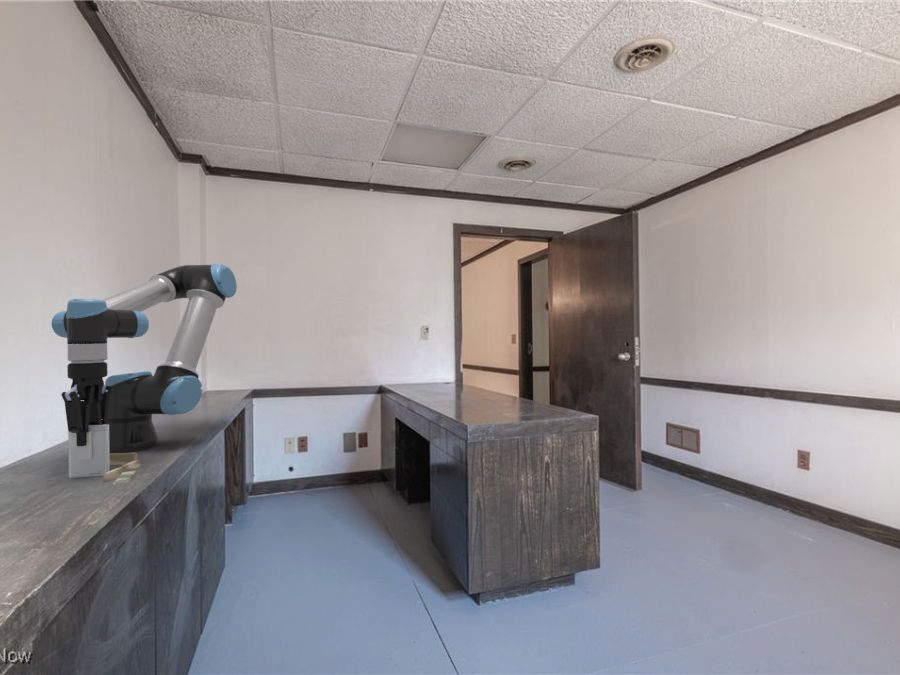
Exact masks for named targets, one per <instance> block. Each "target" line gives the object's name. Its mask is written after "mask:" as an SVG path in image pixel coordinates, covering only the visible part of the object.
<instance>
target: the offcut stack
mask: <svg viewBox="0 0 900 675" xmlns="http://www.w3.org/2000/svg"><path fill="white" fill-rule="evenodd" d="M136 473H137V472H136V470H131V471H129V472H122V473H121V475H120V476H119V477H117V478H115V480H114V482H113V483H112V485H120V484H119V483H121V484H129V483H130V482H131V481H132V480H133V478H134V476H135V475H136Z"/></svg>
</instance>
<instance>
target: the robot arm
mask: <svg viewBox="0 0 900 675" xmlns="http://www.w3.org/2000/svg"><path fill="white" fill-rule="evenodd" d="M237 286H238V284H237V280H236V276H235V274H234V272H233V270H231V268H230V267H229V266H228V265H225V264H217V263H212V264H184V265H180V266H176V267H174V268H170V269H168V270H165V271H163V272H160V273H158V274H154V275H152V276H151V277H150V278H149V280H148V281H146V282H143V283H141V284H139V285H136V286H134V287H131V288H129V289H126V290H124V291H122V292H119V293H116V294H114V295H112V296H109V297H107V298H105V299H98V298H97V299H96V298H72V299H69V301H67V304H66V310H63V311H62V310H61V311H59V312H57V313H56V314H54V315H53V317H52V319H51V328H52V330H53V333H55V334H56V335H57V336H58V337H61V338H64V339H66V338H67V339H66V344H67V361H68V362H70V363H68V364H67V370H66V371H67V378H68V379H69V380H72V381H71V384H70V385H71V386H70V389H69V390H68V391H62V392H61V397H62V400H63V402H64V406H65V407H64V408H65V409H64V410H65V415H66V424H67V431H69V432H71V433H76V438H77V453H78V459H91V458H92V433H91V432H88V430H89V425H109V453H135V452H138V451H143V450H147V449H151V448H155V447H156V446H158V445H159V443H160V442H159V440H160V439H159V435H158V432H157V430H156V428H155V426H154V423H153V415H169V416H175V415H184V414H187V413H189V412H190V411H192V410H193V409H195V408H196V407H197V405H198V404H199V402H200V400H201V398H202V395H203V389H202V386H203V385H202V384H203V383H202V382H201V380H200V379H199V378H200V377H199V376H200V375H199V373H198V372H197V371H196V370H197V366H198V364H199V360H200V357H201V355H202V352H203V350H204V346H205V343H206V341H207V338H208V335H209V332H210V330H211V326H212V323H213V320H214V319H215V314H216V312H217V310H218V309H220V308H222V307H224V304H225V301H226V298H227V299H230V298H232V297H234V296H235V295H236V293H237V288H238V287H237ZM180 299H188V301H187V302H188V303H187V306H186V308H185V310H184V313H183V316H182V318H181V321H180V324H179V326H178V329H177V330H176V333H175V336H174V339H173V341H172V343H171V347H170V349H169V351H168V354H167V357H166V359H165V362H164V363H162V364H159V365H158V366H156V369H155V371H154V374H153V373H152V371H149V370H148V371H139V372H137V371H136V372H129V373H122V374H114V375H110V376H108V363H107V362H106V361H107V360H108V339H114V338H115V339H117V338H118V339H119V338H120V339H122V338H124V339H126V338H128V339H133V338H134V339H135V338H141V337H144V335H146V333H147V332H148V330H149V327H150V321H149V318H148V317H147V315H146V314H145V313H144V312H143V311H145V310H148V309H150V308H153V307H154V306H156V305H158V304H160V303H169V302H172V301H174V300H180ZM107 376H108V377H107ZM105 377H107V378H106V379H105V382H104V379H103V378H105Z"/></svg>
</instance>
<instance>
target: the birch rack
mask: <svg viewBox="0 0 900 675" xmlns="http://www.w3.org/2000/svg"><path fill="white" fill-rule="evenodd" d="M109 457H110V466H114V465H115V466H119V467H115V468H114V469H113V468H112V469H111V470H110V471H109V472H106V473H104V475H103V483H108V482H111V481H112V480H114V479H115V480H116V479H117V478H118V477H119V476H120V475H121V473H122V472H129V471H134V470H135V469H137V468H139V467H141V462H142V461H141V459H138V452H126V453H109Z"/></svg>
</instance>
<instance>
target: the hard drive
mask: <svg viewBox="0 0 900 675" xmlns="http://www.w3.org/2000/svg"><path fill="white" fill-rule="evenodd" d="M67 431H68V430H67ZM88 432H91V433H92V458H91V459H78V453H77V438H76V433H71V432H69V431H68V434H67V436H68V452H67V453H68V479H75V478H87V477H88V478H90V477H100V476H101V477H102V476H103V477H104V473H106V472H109V471H111V470H110V467H111V465H110V457H109V425H105V424H104V425H89V430H88Z"/></svg>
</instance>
